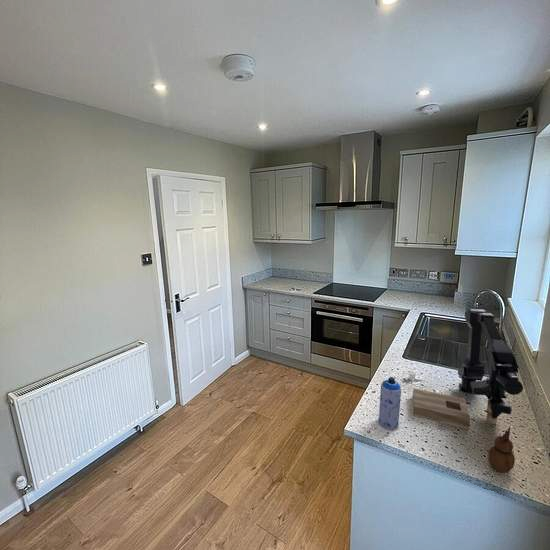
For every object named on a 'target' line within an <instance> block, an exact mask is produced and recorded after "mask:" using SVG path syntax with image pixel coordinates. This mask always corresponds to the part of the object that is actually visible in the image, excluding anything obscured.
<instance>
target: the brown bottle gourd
mask: <svg viewBox="0 0 550 550" xmlns="http://www.w3.org/2000/svg"><path fill="white" fill-rule="evenodd" d="M510 433H511V427H508V429H505V432H504V433H503V434H502V435H498V436H496V437H495V438H494V441H493V444H494V445H492V446H490V447H489V450H488V454H487V455H488V456H487V457H488V462H489V464H490V467H491V468H492V469H494V470H495V472H499V473H501V474H507V473H509V472H511V471H512V470H513V468H514V466H515V459H516V457H515V454H514V452H513V449H514V445H513V441H512V440H511V439H510Z"/></svg>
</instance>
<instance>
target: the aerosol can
mask: <svg viewBox="0 0 550 550" xmlns="http://www.w3.org/2000/svg"><path fill="white" fill-rule="evenodd" d="M379 394H380V396H379V408H378V409H379V411H378V419H377V424H378V425H379V426H380V427H381V428H382V427H383V429H384V428H385V429H384V430H387V431H396V430H398V429H399V426H400V423H399V422H400V410H401V397H402V387H401V384H400V383H399V382H398V381H396V379H395V377H393V376H390V377H388V379H385V380H384V381H382V382H381V385H380V393H379Z"/></svg>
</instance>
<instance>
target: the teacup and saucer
mask: <svg viewBox="0 0 550 550" xmlns="http://www.w3.org/2000/svg"><path fill="white" fill-rule="evenodd" d="M406 375H409V377H408V379H409V384H413V385H417V384H420V383H421V382H422V380H423V376H421V375H416V372H414V371H408V373H406ZM413 381H417V382H413ZM411 382H412V383H411Z"/></svg>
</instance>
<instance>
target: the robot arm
mask: <svg viewBox="0 0 550 550" xmlns="http://www.w3.org/2000/svg"><path fill="white" fill-rule="evenodd" d="M464 318H465V323H466V324H467V326H468V328H469V329H468V342H467V355H466V358H464V360H463V361H462V364H461V365H462V366H461V367H460V368H458V369H457V375H458V376H459V378H460V379H461V382H460V383H458V384H459V388H460V389H459V390H460V391H461V392H465V393H469V394H473V395H475V396H476V395H477V396H485V397H487V405H488V404H489V406H490V409H491V410H492V418H495V419H496V418H497V417H499V416H501V414H506V415H511V414H512V411H513V409H512V407H511V405H510V403H509V402H508V401H506V400H503V399H507V394H509V395H513V396H517V395H519V394H521V393H522V392H523V390H524V386H523V384H522V382H520V381H519V377H518V376H517V375H516V374H517V373H519V367H520V366H519V365H518V361H517V359H516V355H515V354H514V352H513V350H512V349H511V347H510V346H509V345H507V344H506V343H505V342H504V341H503V338H502V336H501V334H500V331H499V329H498V327H497V324H496V322H495V316H494V314H492V313H490V312H487V311H486V310H485V309H479V308H478V309H475V308H474V309H473V308H468V309H467V310H465V312H464ZM482 331H483V333H484V335H485V338H486V340H487V344H488V346H489V348H488V349H487V354H488V355H487V357H488V363H489V364H490V368H489V376H487V377H486V379H484V380H483V377H484V376H485V366H484V365H483V364H482V362H481V360H480V358H481V344H482ZM514 373H516V374H514ZM506 393H507V394H506ZM490 398H492V399H491V400H489V402H488V399H490ZM497 419H498V418H497Z"/></svg>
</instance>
